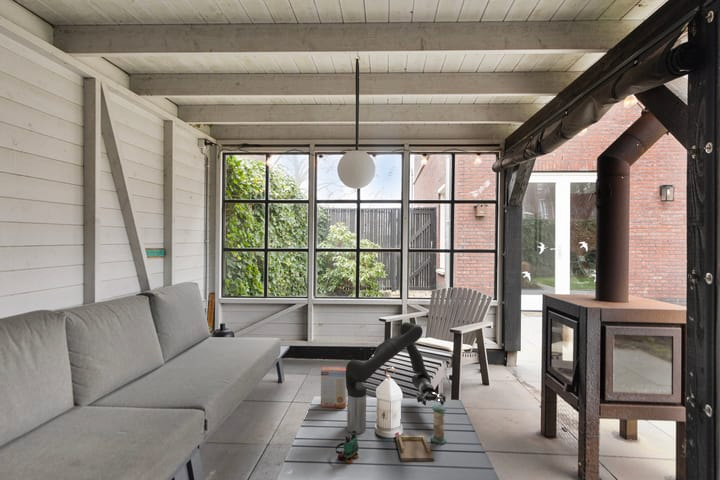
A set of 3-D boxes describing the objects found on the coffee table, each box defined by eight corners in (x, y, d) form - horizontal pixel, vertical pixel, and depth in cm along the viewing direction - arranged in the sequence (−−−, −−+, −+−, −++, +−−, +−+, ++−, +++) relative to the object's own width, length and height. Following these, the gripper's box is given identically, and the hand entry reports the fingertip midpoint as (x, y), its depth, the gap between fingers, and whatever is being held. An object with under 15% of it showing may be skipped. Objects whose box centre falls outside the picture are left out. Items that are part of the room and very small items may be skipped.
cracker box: (346, 404, 222) (347, 367, 222) (345, 408, 216) (345, 370, 216) (322, 402, 223) (322, 366, 223) (320, 407, 217) (320, 369, 217)
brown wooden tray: (401, 460, 164) (401, 454, 164) (395, 437, 184) (395, 431, 184) (434, 460, 165) (434, 454, 165) (424, 437, 185) (424, 431, 185)
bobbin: (432, 444, 179) (433, 410, 179) (429, 436, 186) (430, 404, 186) (448, 444, 179) (448, 410, 179) (444, 436, 186) (444, 404, 186)
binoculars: (341, 427, 173) (361, 430, 168) (343, 451, 173) (362, 456, 168) (329, 435, 166) (349, 439, 161) (331, 461, 165) (351, 465, 160)
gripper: (413, 383, 210) (419, 396, 194) (440, 383, 210) (448, 395, 194) (413, 397, 210) (419, 411, 194) (440, 397, 210) (448, 410, 194)
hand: (433, 403), depth 194 cm, fingers open, 8 cm apart
